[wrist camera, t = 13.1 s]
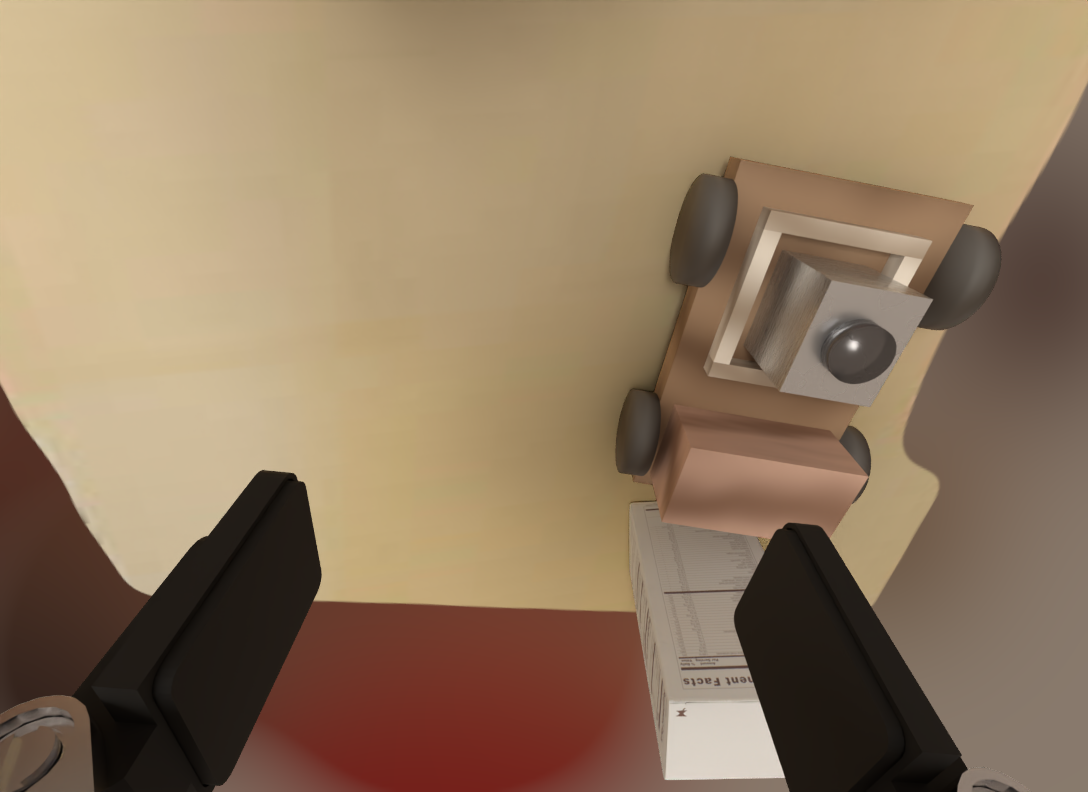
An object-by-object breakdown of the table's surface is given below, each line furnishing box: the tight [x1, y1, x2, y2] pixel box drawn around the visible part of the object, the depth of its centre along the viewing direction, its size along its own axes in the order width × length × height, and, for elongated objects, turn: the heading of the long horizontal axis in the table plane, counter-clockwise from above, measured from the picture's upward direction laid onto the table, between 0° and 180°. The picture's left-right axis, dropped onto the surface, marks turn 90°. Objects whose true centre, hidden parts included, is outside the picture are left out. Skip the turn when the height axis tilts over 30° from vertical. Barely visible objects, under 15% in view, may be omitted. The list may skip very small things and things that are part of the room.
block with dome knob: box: [744, 250, 933, 407], centre depth 27 cm, size 6×5×7 cm
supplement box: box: [629, 501, 785, 780], centre depth 37 cm, size 10×9×17 cm
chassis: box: [616, 157, 1001, 539], centre depth 31 cm, size 22×16×8 cm
